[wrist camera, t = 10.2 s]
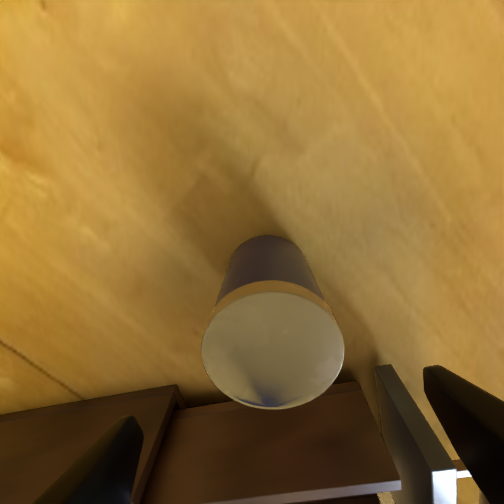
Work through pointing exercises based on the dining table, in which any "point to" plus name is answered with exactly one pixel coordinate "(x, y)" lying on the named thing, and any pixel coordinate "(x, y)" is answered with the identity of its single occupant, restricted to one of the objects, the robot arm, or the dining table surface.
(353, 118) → the dining table surface
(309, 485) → the drawer
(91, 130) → the dining table surface
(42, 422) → the cabinet
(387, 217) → the dining table surface
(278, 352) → the tea tin
